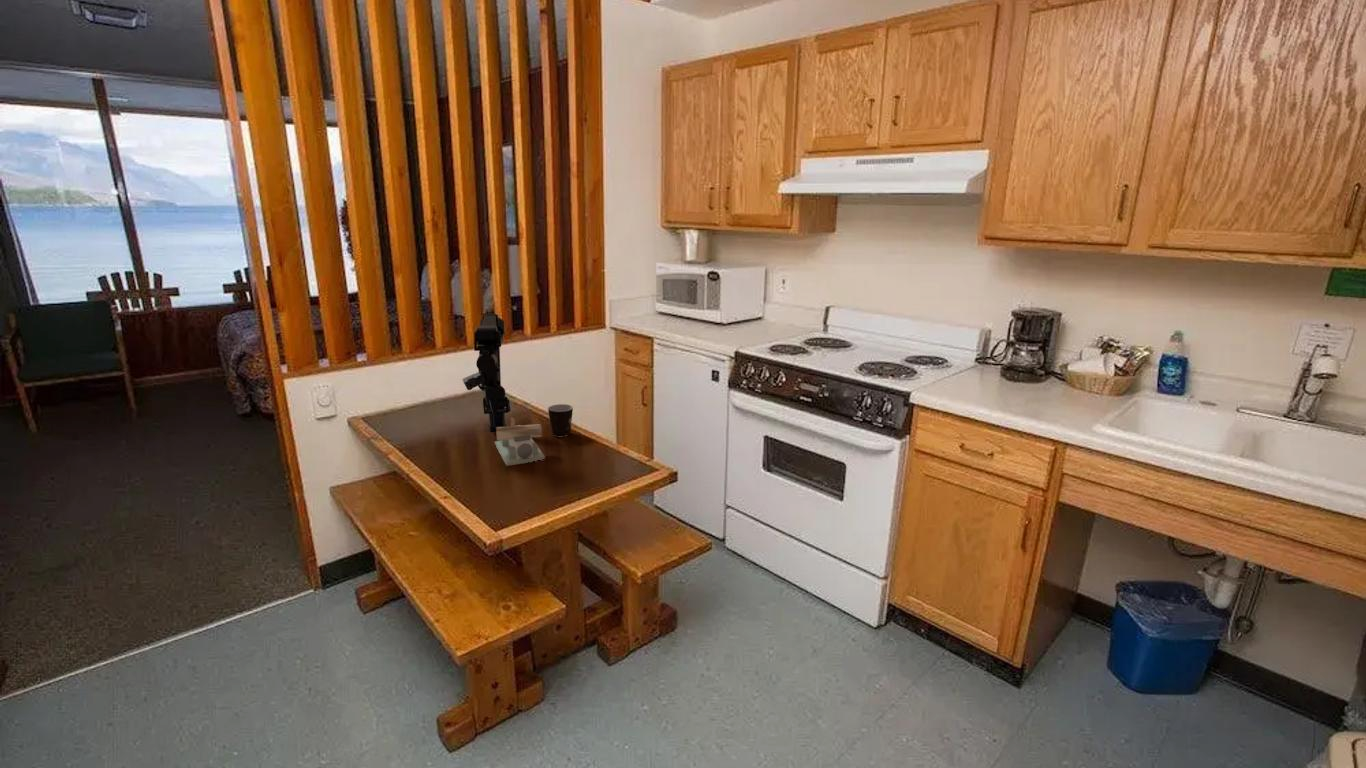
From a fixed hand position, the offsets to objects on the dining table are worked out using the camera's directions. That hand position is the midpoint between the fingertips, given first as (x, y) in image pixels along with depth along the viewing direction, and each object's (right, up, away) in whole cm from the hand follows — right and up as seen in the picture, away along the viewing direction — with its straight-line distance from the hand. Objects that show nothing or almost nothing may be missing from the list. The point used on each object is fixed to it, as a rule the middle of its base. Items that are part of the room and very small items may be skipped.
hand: (492, 410), depth 204 cm
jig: (+10, -14, -4) cm, 17 cm away
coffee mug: (+20, -10, +12) cm, 25 cm away
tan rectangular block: (+11, -8, -7) cm, 15 cm away
